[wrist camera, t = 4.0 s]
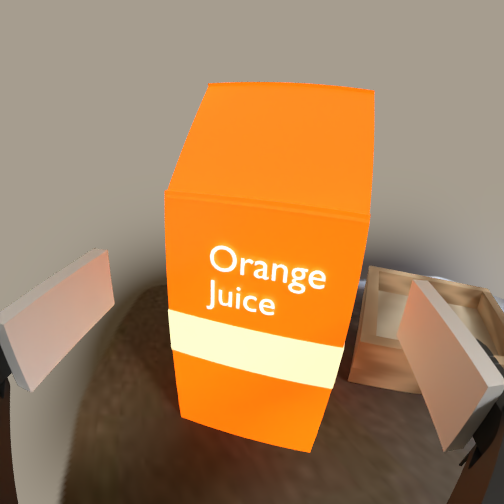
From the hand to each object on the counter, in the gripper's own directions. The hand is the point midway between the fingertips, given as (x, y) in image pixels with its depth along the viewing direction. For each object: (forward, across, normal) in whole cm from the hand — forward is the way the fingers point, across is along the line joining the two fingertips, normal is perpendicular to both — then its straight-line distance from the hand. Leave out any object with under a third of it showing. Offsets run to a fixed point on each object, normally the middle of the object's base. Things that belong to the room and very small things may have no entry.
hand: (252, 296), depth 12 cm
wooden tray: (+13, +17, -11) cm, 24 cm away
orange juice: (+5, +1, -11) cm, 12 cm away
